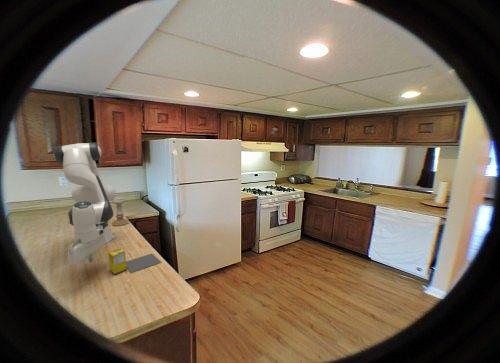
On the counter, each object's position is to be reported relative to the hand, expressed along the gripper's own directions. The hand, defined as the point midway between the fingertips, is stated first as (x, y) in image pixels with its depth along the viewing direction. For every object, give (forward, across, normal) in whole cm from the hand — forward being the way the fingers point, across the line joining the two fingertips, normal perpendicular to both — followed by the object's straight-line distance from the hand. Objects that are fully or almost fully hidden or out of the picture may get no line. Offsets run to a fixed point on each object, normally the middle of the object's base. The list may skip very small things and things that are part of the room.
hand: (89, 262), depth 109 cm
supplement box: (+9, +8, -9) cm, 15 cm away
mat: (+9, +16, -17) cm, 26 cm away
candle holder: (+9, +79, +31) cm, 86 cm away
